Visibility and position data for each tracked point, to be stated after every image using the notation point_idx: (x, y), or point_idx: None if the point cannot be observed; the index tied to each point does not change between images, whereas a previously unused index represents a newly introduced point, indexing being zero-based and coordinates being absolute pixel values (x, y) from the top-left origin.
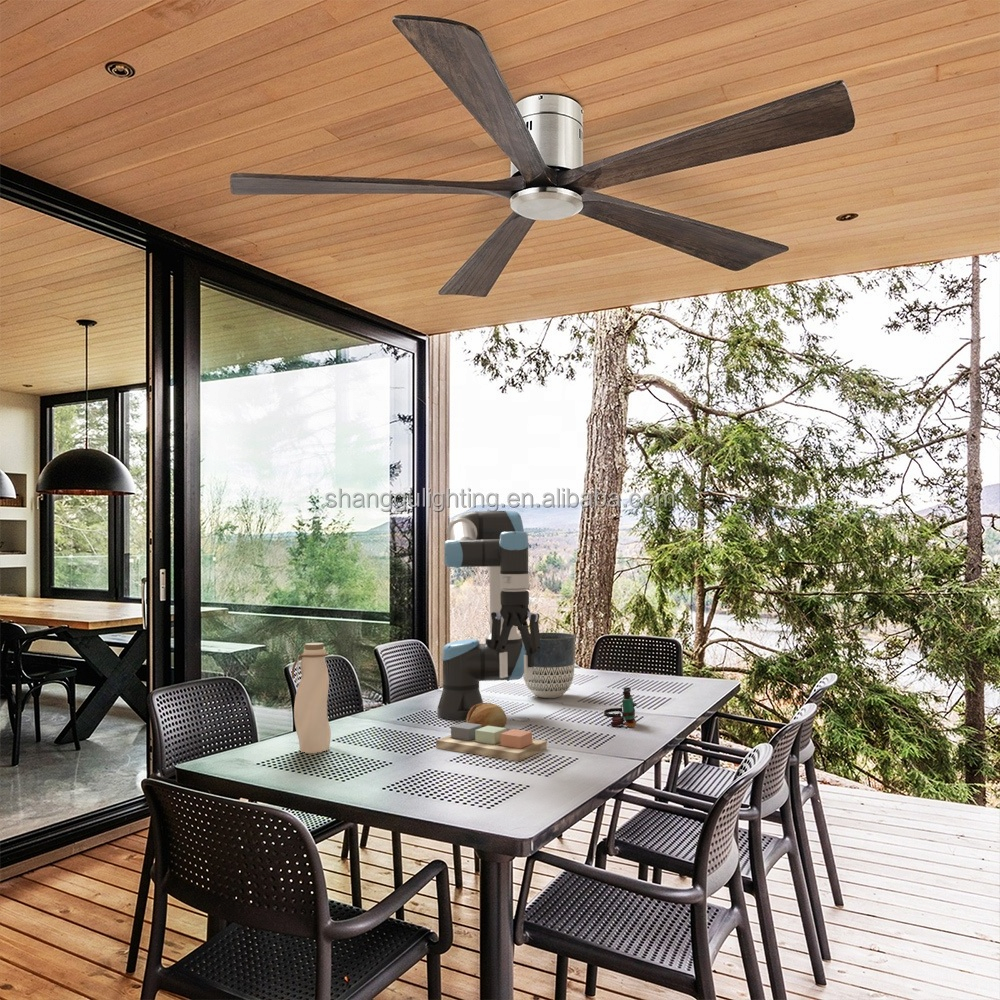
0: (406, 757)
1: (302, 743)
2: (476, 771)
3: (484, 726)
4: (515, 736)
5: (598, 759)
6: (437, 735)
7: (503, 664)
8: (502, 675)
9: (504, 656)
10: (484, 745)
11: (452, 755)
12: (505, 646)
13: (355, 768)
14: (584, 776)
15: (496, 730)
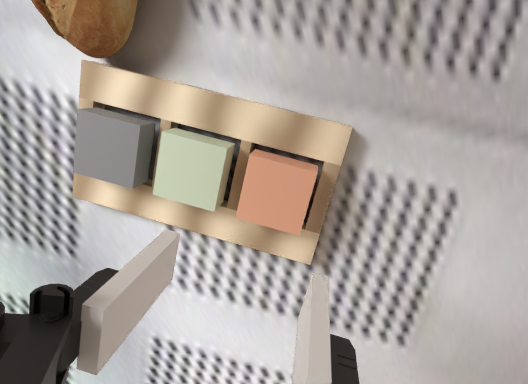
0: (72, 277)
1: None
2: (248, 338)
3: (122, 41)
4: (284, 231)
5: (516, 192)
6: (20, 73)
7: (141, 305)
8: (166, 282)
9: (116, 327)
10: (203, 217)
11: (149, 242)
12: (60, 345)
13: None
14: (489, 332)
15: (209, 184)
